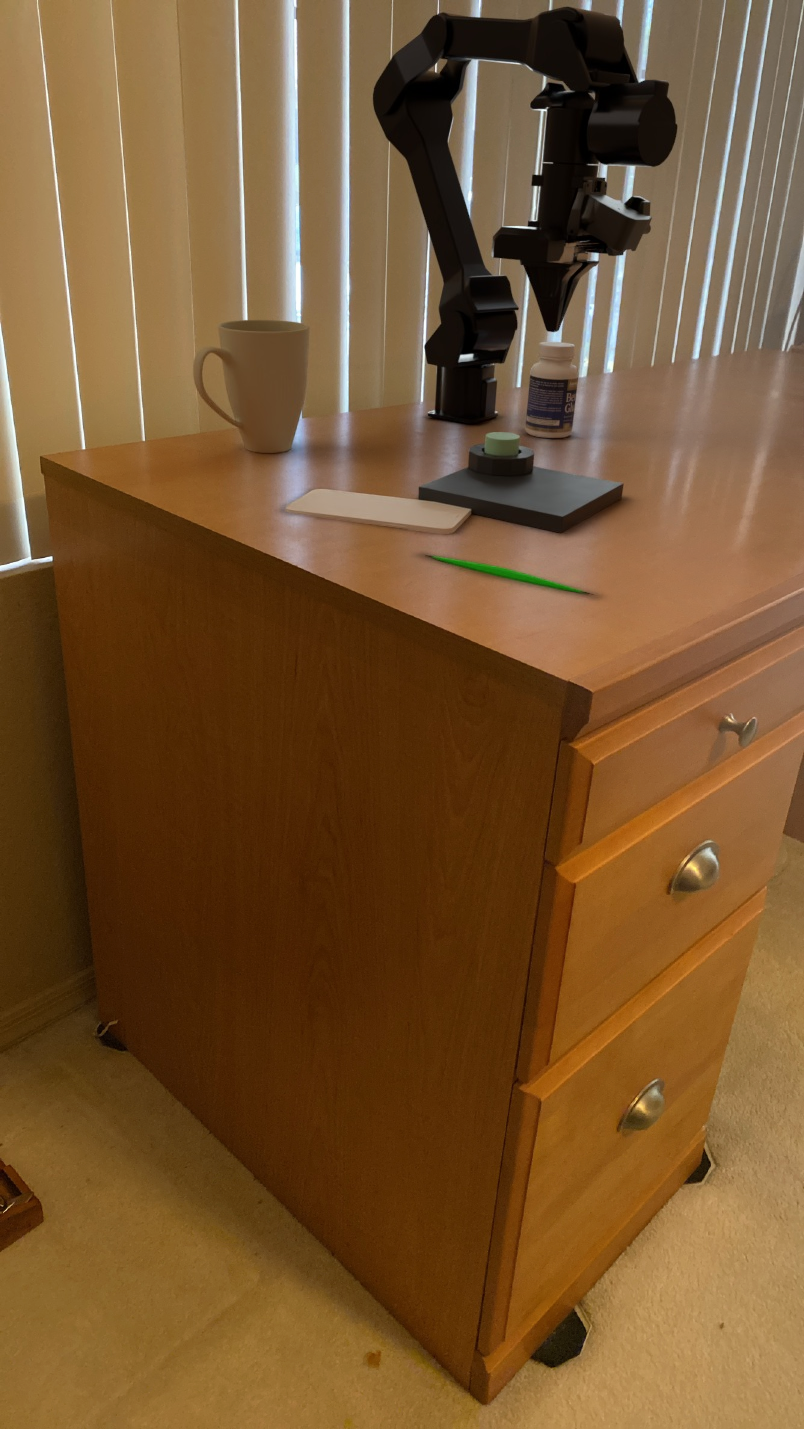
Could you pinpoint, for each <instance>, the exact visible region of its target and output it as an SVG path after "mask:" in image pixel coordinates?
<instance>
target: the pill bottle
mask: <svg viewBox="0 0 804 1429" xmlns="http://www.w3.org/2000/svg"><path fill="white" fill-rule="evenodd" d="M537 354H538V355H537V356H538V358H539V361H537V362H536V363H534V364H533V365H532V366H531V368H530V372H529V383H528V394H527V405H526V416H525V426H524V430H525V432H526V433H527V434H528V435H529V436H532V437H536V438H545V439H562V438H567V437H570V436H571V435H572V432H573V426H574V418H575V417H574V416H575V409H576V401H577V393H578V392H577V391H578V382H579V369H578V368H577V366H576V365H574V364H573V363H572V362H573V360H574V359H575V356H576V344H573V343H569V342H564V341H563V342H562V341H561V342H560V341H542V342H539V345H538V351H537Z"/></svg>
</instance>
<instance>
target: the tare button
mask: <svg viewBox="0 0 804 1429" xmlns="http://www.w3.org/2000/svg"><path fill="white" fill-rule="evenodd" d="M520 440H521V437H520V435H518V434H517V433H514V432H507V431H492V432H488V433H486V434H485V439H484V444H485V451H484V452H485V453H487V454H492V455H498V456H511V455H518V452H519V445H520Z"/></svg>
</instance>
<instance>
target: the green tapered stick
mask: <svg viewBox="0 0 804 1429" xmlns="http://www.w3.org/2000/svg"><path fill="white" fill-rule="evenodd" d="M424 556H425V557H429V558H432V559H435V560H438V561H441V562H444V563H447V564H449V565H452V566H456V567H461V568H463V569H464V568H465V569H468V570H471V571H475V572H479V573H483V574H487V575H491V576H495V577H499V578H503V579H507V580H513V581H517V582H521V583H526V584H531V585H536V586H541V587H545V588H551V589H556V590H561V591H568V592H574V593H580V594H584V595H585V594H586V595H591V596H592V595H593V596H595V593H594V594H593V593H590V592H588V591H583V590H581V589H578V588H574V587H572V586H569V585H564V584H561V583H558V582H555V581H551V580H547V579H545V578H541V577H539V576H536V575H535V576H534V575H531V574H528V573H525V572H521V571H517V570H513V569H510V568H506V567H501V566H495V565H490V564H485V563H480V562H475V561H474V562H473V561H467V560H461V559H455V558H448V557H441V556H435V555H427V554H424Z"/></svg>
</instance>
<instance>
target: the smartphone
mask: <svg viewBox="0 0 804 1429" xmlns="http://www.w3.org/2000/svg"><path fill="white" fill-rule="evenodd" d="M285 512H286V513H290V514H294V515H300V516H307V517H314V518H323V519H331V520H338V521H343V522H351V523H358V524H365V525H374V526H381V527H387V528H388V527H389V528H394V529H395V528H396V529H403V530H410V531H416V532H417V531H418V532H424V533H432V534H440V535H450V534H453V533H454V532H456V531H457V530H458V529H459V528H460V527H461V525H462V524H463V523H464V522H465V521H466V520H468V518H469V517H471V515H472V513H471V509H468V508H463V507H458V506H453V505H448V504H443V503H438V502H433V501H424V500H418V499H416V498H415V499H414V498H405V497H397V496H388V495H380V494H372V493H362V492H355V491H345V490H338V489H330V488H315V489H312V490H310V491H309V492H307V493H305V494H303V495H302V496H299V497H298V498H297V499H295V500H294V501H292V502H291V503H289V504H287V505H286V506H285Z"/></svg>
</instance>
